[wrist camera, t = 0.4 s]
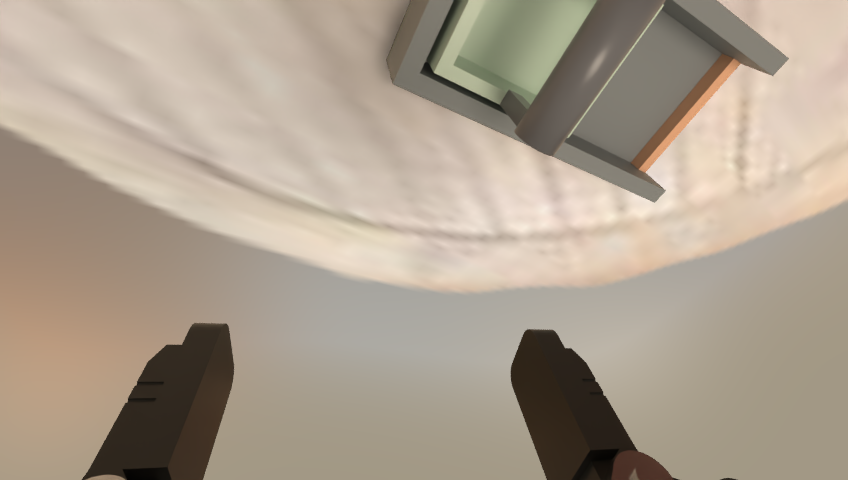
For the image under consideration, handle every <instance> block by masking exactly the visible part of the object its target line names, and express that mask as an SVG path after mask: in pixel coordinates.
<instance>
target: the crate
mask: <svg viewBox="0 0 848 480" xmlns="http://www.w3.org/2000/svg"><path fill="white" fill-rule="evenodd" d="M665 1H666V0H454V1H453V3H452V5H451V7H450V9H449V12H448V14H447V16H446V18H445V20H444V22H443V24H442V27H441V29H440V31H439V33H438V35H437V37H436V40H435V42H434V44H433V46H432V48H431V50H430V53H429V55H428V57H427V61H428V63H429V65H430V66H431V68H432V70H433V72H434V73H435V74H437V75H440V76H442V77H444V78H446V79H448V80H450V81H452V82H454V83H456V84H458V85H460V86H462V87H464V88H466V89H468V90H470V91H473V92H475V93H477V94H479V95H481V96H483V97H485V98H487V99H489V100H491V101H493V102H495V103H497V104H499V105H500V106H501V107H502V108H503V110H504V111H505V112H506V113H507V115H508V116H509V117H510V118H511V120H512V121H513V122H514V124H515V125H516V126H517V127H516V129H515V130H514V132H515V134H516V135H517V136H518V137H519V138H520V139H521V140H522V141H524V142H525V143H526V144H528V145H529V146H531V147H532V148H534V149H536V150H538V151H539V152H542V153H544V154H546V155H549V156H554V155H555V154H556V152H557V151H558V149H559V148H560V147H561V145H562V144H563V142H564V141H565V140H566V138H569V136H570V135H571V134H572V132H573V131H574V129H575V128H576V127H577V125H578V124H579V123H580V121H581V120H582V118H583V117H584V116H585V114H586V113H587V111H588V110H589V109H590V107H591V106H592V105H593V103H594V102H595V100H596V99H597V98H598V96H599V95H600V93H601V92H602V91H603V89H604V88H605V86H606V85H607V84H608V82H609V81H610V80H611V78H612V77H613V75H614V74H615V73H616V71H617V70H618V68H619V67H620V66H621V64H622V63H623V62H624V60H625V59H626V57H627V56H628V55H629V53H630V52H631V50H632V49H633V48H634V46H635V45H636V44H637V42H638V41H639V39H640V38H641V37H642V35H643V34H644V32H645V31H646V30H647V28H648V27H649V25H650V24H651V23H652V21H653V20H654V19H655V17H656V16H657V14H658V13H659V12H660V10H661V9H662V7H663V6H664V5H663V3H664V2H665Z"/></svg>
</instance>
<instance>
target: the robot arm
mask: <svg viewBox="0 0 848 480" xmlns="http://www.w3.org/2000/svg"><path fill="white" fill-rule="evenodd" d="M233 375H234V363H233V355H232V348H231V340H230V333H229V327H228V325H227V324H215V323H211V324H210V323H194V324H193V325H192V326H191V328H190V329H189V331H188V333H187V336H186V338H185V340H184V342H183V344H182V345H166V346H165V347H164V348H163V349H162V350H161V351H159V352H158V353H157V354H156V355H155V356H154V357H153V358H152V359H151V360H149V361H148V363H147V365H146V367H145V368H144V370H143V372H142V374H141V376H140V377H139V379H138V381H137V385H136V386H135V387H134V388H133V390H132V392H131V394H130V396H129V398H128V402H127V403H125V405H124V407H123V408H122V410H121V412H120V414H119V416H118V418H117V420H116V421H115V423H114V425H113V427H112V429H111V431H110V432H109V434H108V436H107V438H106V440H105V441H104V443H103V445H102V447H101V449H100V451H99V452H98V454H97V456H96V458H95V460H94V461H93V463H92V465H91V467H90V469H89V470H88V472H87V473H86V475H85V476H84V477H83V479H82V480H203V478H204V474H205V471H206V468H207V465H208V462H209V458H210V455H211V452H212V449H213V445H214V442H215V439H216V436H217V433H218V429H219V426H220V423H221V420H222V416H223V413H224V410H225V407H226V404H227V400H228V397H229V394H230V390H231V387H232V382H233ZM511 382H512V386H513V389H514V392H515V395H516V397H517V400H518V402H519V405H520V408H521V411H522V413H523V416H524V419H525V422H526V424H527V427H528V430H529V432H530V435H531V438H532V440H533V443H534V446H535V449H536V451H537V454H538V457H539V459H540V462H541V465H542V468H543V470H544V473H545V476H546V478H547V480H678V479H675V478H672V477H671V475H670V474H669V473H668V471H667V470H666V469H665V468H664V467H663V466H662V465H661V464H659V462H657V461H656V460H655V459H653V458H652V457H650V456H648V455H646V454H644V453H641V452H638V451H637V449H636V447H635V446H634V444H633V442H632V441H631V439H630V437H629V436H628V434H627V432H626V431H625V429H624V427H623V425H622V424H621V422H620V420H619V419H618V417H617V415H616V413H615V412H614V410H613V408H612V407H611V405H610V403H609V401H608V400H607V398H606V396H604V395H603V391H602V389H601V388H600V386H599V384H598V383H597V382H596V381H595V377H594V375H593V374H592V372H591V370H590V369H589V367H588V365H587V363H586V362H585V361H584V360H583V359H582V358H581V357H580V356H578V354H576V353H575V352H574V351H573V350H572V349H570V348H569V349H568V348H564V346H563V344H562V342H561V340H560V338H559V336H558V335H557V333H556V332H555V331H554V330H533V329H529V330H526V331H525V332H524V334H523V337H522V339H521V342H520V345H519V347H518V350H517V352H516V355H515V358H514V360H513V363H512V366H511ZM721 480H736V479H731V478H725V479H721Z"/></svg>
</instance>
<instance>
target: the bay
mask: <svg viewBox="0 0 848 480" xmlns="http://www.w3.org/2000/svg"><path fill="white" fill-rule="evenodd" d="M453 1H454V0H411V2H410V4H409V7H408V9H407V11H406V14H405V16H404V19H403V21H402V24H401V26H400V28H399V31H398V33H397V36H396V38H395V40H394V43H393V45H392V48H391V50H390V53H389V55H388V57H387V64H388V68H389V72H390V75H391V79H392V83H393V84H394V85H396V86H398V87H401V88H403V89H405V90H407V91H409V92H412V93H414V94H416V95H418V96H420V97H423V98H425V99H427V100H429V101H431V102H434V103H436V104H438V105H440V106H443V107H445V108H447V109H449V110H451V111H454V112H456V113H458V114H460V115H462V116H465V117H467V118H469V119H471V120H473V121H476V122H478V123H480V124H482V125H484V126H487V127H489V128H491V129H493V130H495V131H498V132H500V133H502V134H504V135H507V136H509V137H511V138H513V139H515V140H518V141H520V142H522V143H524V144H526V143H525V142H524V141H522V140H521V139H520V138H519V137H518V136H517V135H516V134H515V132H514V130H515V129H516V127H517V126H516V125H515V124H514V122H513V121H512V120H511V118H510V117H509V116H508V115H507V113H506V112H505V111H504V110H503V108H502V107H501V106H500V105H499V104H497V103H495V102H493V101H491V100H489V99H487V98H485V97H483V96H481V95H479V94H477V93H475V92H473V91H470V90H468V89H466V88H464V87H462V86H460V85H458V84H456V83H454V82H452V81H450V80H448V79H446V78H444V77H442V76H440V75H437V74H435V73H434V72H433V70H432V68H431V66H430V65H429V63H428V61H427V57H428V55H429V53H430V50H431V48H432V46H433V44H434V42H435V40H436V37H437V35H438V33H439V31H440V29H441V27H442V24H443V22H444V20H445V18H446V16H447V14H448V12H449V9H450V7H451V5H452V3H453ZM663 5H664V6H663V7H662V9H661V10H660V12H659V13H658V14H657V16H656V17H655V19H654V20H653V21H652V23H651V24H650V25H649V27H648V28H647V30H646V31H645V32H644V34H643V35H642V37H641V38H640V39H639V41H638V42H637V44H636V45H635V46H634V48H633V49H632V50H631V52H630V53H629V55H628V56H627V57H626V59H625V60H624V62H623V63H622V64H621V66H620V67H619V68H618V70H617V71H616V73H615V74H614V75H613V77H612V78H611V80H610V81H609V82H608V84H607V85H606V86H605V88H604V89H603V91H602V92H601V93H600V95H599V96H598V98H597V99H596V100H595V102H594V103H593V105H592V106H591V107H590V109H589V110H588V111H587V113H586V114H585V116H584V117H583V118H582V120H581V121H580V123H579V124H578V125H577V127H576V128H575V129H574V131H573V132H572V134H571V135H570V136H569V138H566V140H565V141H564V142H563V144H562V145H561V147H560V148H559V149H558V151H557V152H556V154H555V155H554V156H553V157H555V158H557V159H559V160H562V161H564V162H566V163H568V164H570V165H573V166H575V167H577V168H579V169H582V170H584V171H586V172H588V173H590V174H593V175H595V176H597V177H599V178H601V179H604V180H606V181H608V182H610V183H612V184H615V185H617V186H619V187H621V188H623V189H626V190H628V191H630V192H632V193H634V194H637V195H639V196H641V197H643V198H646V199H648V200H650V201H652V202H654V203H655V202H656V201H657V200H658V199H659V197H660V196H661V195H662V194H663V193H664V192H665V191H666V190H664V189H663V188H662V187H661V186H660V185H659V184H658V183H656V182H655V181H654V180H653V179H652V178H651V177H650V176H648V175H647V174H646V173H645V172H646V171H647V170H648V169H649V168H650V166H651V165H652V164H653V163H654V162H655V161H656V160H657V158H658V157H659V156H660V155H661V154H662V153H663V152H664V150H665V149H666V148H667V147H668V146H669V145H670V144H671V142H672V141H673V140H674V139H675V138H676V137H677V136H678V134H679V133H680V132H681V131H682V130H683V129H684V128H685V126H686V125H687V124H688V123H689V122H690V121H691V120H692V118H693V117H694V116H695V115H696V114H697V113H698V112H699V110H700V109H701V108H702V107H703V106H704V105H705V104H706V102H707V101H708V100H709V99H710V98H711V97H712V96H713V94H714V93H715V92H716V91H717V90H718V89H719V88H720V86H721V85H722V84H723V83H724V82H725V81H726V80H727V78H728V77H729V76H730V75H731V74H732V73H733V72H734V70H735V69H736V68H737V67H738V66H739V65H740V64H743V65H746V66H749V67H751V68H754V69H756V70H759V71H762V72H764V73H767V74H769V75H772V76H773V75H774V74H775V73H776V72H777V71H778V70H779V69H780V68H781V67H782V66H783V64H784V63H785V62H786V61H787V60H788V59H789V58H788V57H786V56H785V55H784V54H783V53H781V52H780V51H779V50H778V49H776V48H775V47H774V46H773V45H772V44H770V43H769V42H768V41H767V40H765V39H764V38H763V37H762V36H760V35H759V34H758V33H757V32H755V31H754V30H753V29H752V28H750V27H749V26H748V25H747V24H745V23H744V22H743V21H742V20H740V19H739V18H738V17H737V16H735V15H734V14H733V13H732V12H731V11H729V10H728V9H727V8H726V7H724V6H723V5H722V4H721V3H719V2H718V1H717V0H666V1H665V2H664V3H663ZM526 145H528V144H526Z"/></svg>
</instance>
